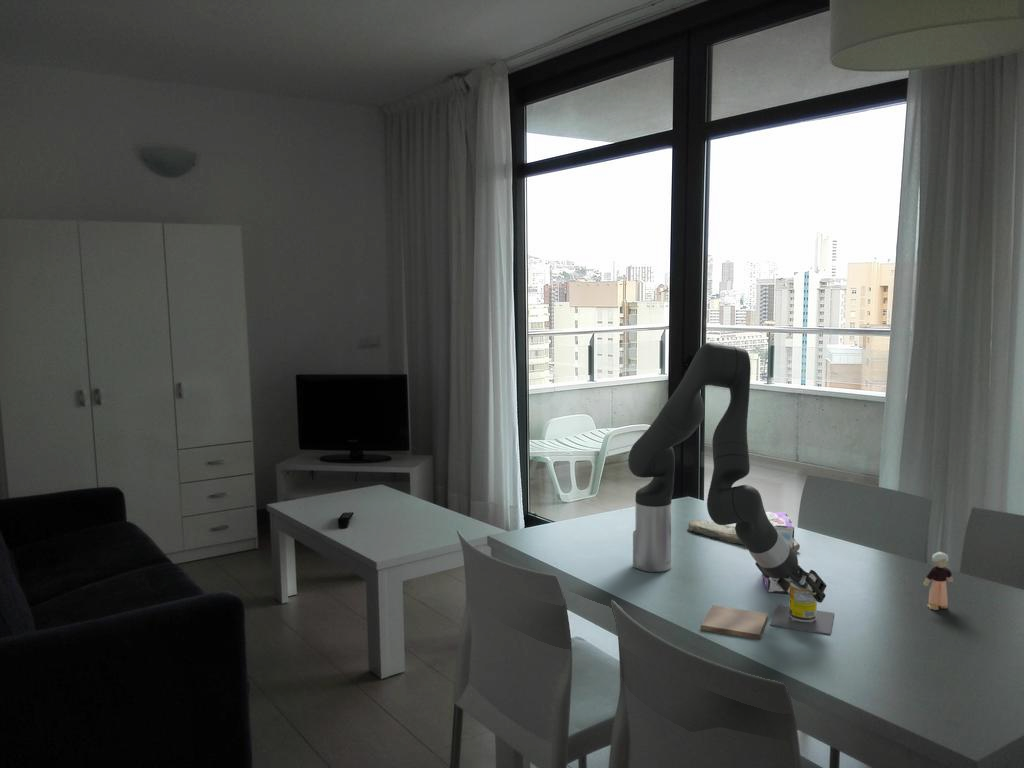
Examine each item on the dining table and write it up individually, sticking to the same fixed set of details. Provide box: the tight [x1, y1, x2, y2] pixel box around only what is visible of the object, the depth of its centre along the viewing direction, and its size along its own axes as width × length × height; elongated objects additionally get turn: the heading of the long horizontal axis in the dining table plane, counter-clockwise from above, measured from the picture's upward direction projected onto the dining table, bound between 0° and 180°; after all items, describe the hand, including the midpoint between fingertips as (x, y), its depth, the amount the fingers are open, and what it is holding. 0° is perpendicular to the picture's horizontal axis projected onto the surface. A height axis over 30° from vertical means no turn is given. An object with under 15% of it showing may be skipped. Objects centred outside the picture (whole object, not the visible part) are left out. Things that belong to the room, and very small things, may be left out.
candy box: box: [761, 511, 795, 594], centre depth 193 cm, size 14×6×16 cm, turn 168°
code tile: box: [769, 604, 835, 636], centre depth 172 cm, size 12×12×1 cm
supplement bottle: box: [789, 569, 818, 622], centre depth 171 cm, size 6×6×10 cm
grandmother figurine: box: [923, 551, 954, 611], centre depth 178 cm, size 8×4×13 cm, turn 117°
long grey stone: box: [687, 519, 801, 553], centre depth 229 cm, size 35×5×10 cm
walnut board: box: [700, 605, 769, 640], centre depth 170 cm, size 12×12×1 cm
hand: (804, 593), depth 172 cm, fingers open, 8 cm apart
